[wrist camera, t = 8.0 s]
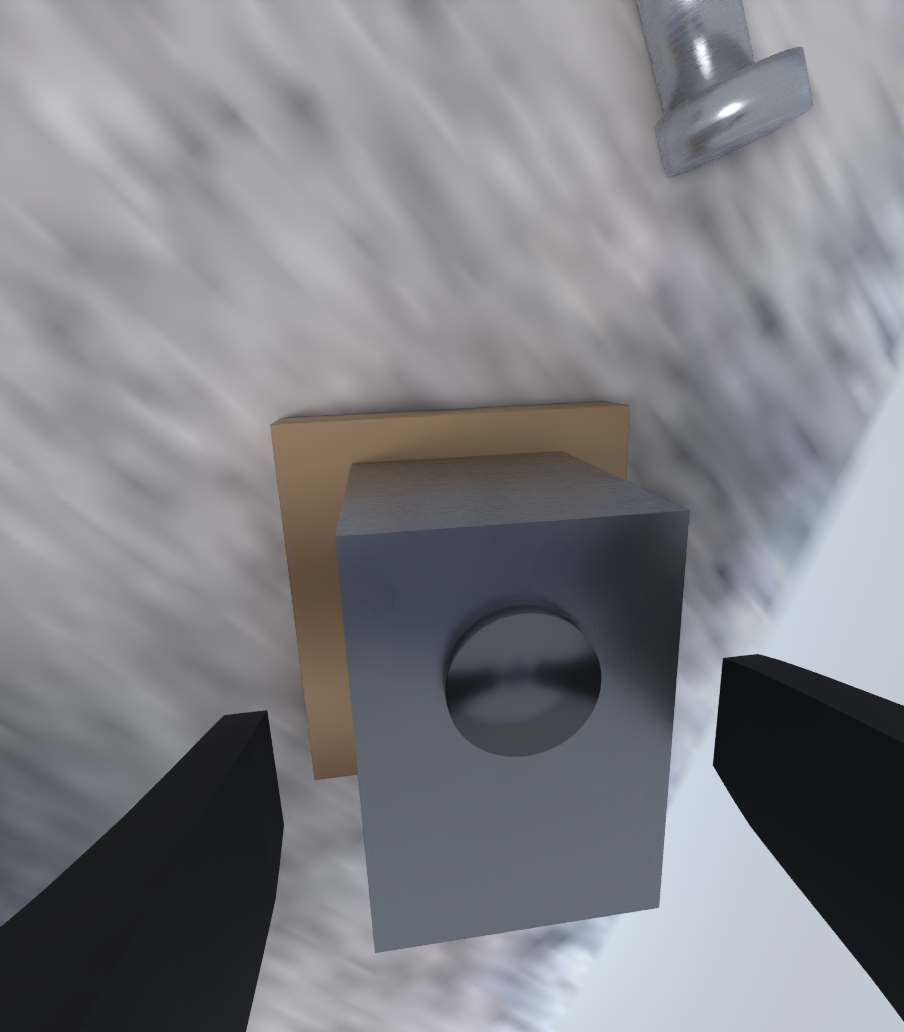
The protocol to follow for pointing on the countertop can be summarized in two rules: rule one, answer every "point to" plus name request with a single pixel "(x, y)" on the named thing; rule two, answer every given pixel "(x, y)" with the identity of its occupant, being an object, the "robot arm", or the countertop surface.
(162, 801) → the robot arm
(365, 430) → the stand
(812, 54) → the countertop surface
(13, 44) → the countertop surface
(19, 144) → the countertop surface
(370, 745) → the block
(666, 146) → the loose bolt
